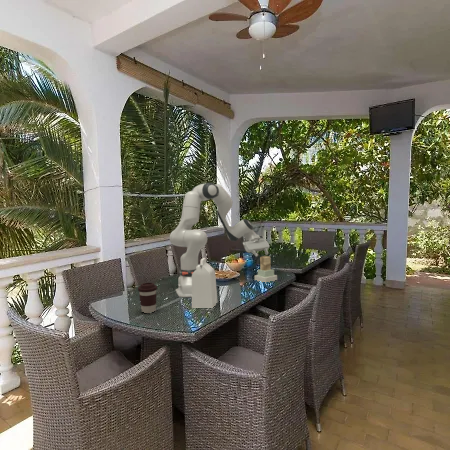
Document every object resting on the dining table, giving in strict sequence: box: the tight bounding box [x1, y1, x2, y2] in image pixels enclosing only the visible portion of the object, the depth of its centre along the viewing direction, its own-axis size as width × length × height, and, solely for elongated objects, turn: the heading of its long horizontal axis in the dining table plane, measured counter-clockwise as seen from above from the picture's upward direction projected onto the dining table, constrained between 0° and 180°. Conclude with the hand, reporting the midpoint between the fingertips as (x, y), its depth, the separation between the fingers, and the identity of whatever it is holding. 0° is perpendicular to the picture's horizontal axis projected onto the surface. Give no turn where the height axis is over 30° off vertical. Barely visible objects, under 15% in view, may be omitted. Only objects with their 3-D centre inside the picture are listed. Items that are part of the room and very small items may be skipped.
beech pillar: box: [259, 255, 272, 271], centre depth 244 cm, size 5×5×9 cm
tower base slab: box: [254, 274, 278, 284], centre depth 245 cm, size 11×11×4 cm
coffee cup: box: [137, 282, 158, 314], centre depth 187 cm, size 10×10×15 cm
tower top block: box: [257, 269, 275, 277], centre depth 245 cm, size 8×8×4 cm
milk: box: [191, 257, 218, 309], centre depth 194 cm, size 12×12×26 cm
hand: (262, 255), depth 246 cm, fingers open, 8 cm apart
